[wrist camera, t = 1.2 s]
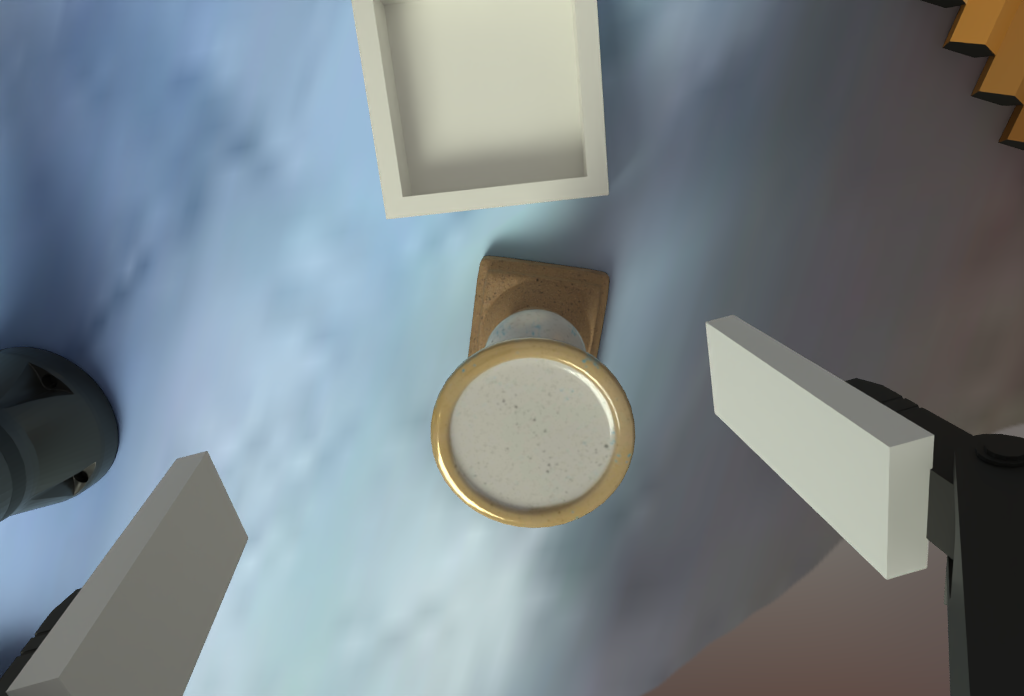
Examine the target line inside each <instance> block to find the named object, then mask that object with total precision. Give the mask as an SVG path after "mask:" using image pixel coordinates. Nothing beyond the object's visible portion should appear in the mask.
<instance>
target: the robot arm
mask: <svg viewBox="0 0 1024 696" xmlns="http://www.w3.org/2000/svg"><path fill="white" fill-rule="evenodd" d="M706 331H707V341H708V351H709V361H710V370H711V380H712V390H713V400H714V410H715V414H716V415H717V416H718V417H719V418H720V419H721V420H722V421H723V422H725V423H726V424H727V425H728V426H729V427H730V428H731V429H732V430H733V431H734V432H735V433H736V434H737V435H738V436H739V437H740V438H741V439H742V440H743V441H744V442H745V443H746V444H747V445H748V446H749V447H750V448H751V449H752V450H753V451H754V452H755V453H757V454H758V455H759V456H760V457H761V458H762V459H763V460H764V461H765V462H766V463H767V464H768V465H769V466H770V467H771V468H772V469H773V470H774V471H775V472H776V473H777V474H778V475H779V476H780V477H781V478H782V479H783V480H784V481H785V482H786V483H787V484H788V485H790V486H791V487H792V488H793V489H794V490H795V491H796V492H797V493H798V494H799V495H800V496H801V497H802V498H803V499H804V500H805V501H806V502H807V503H808V504H809V505H810V506H811V507H812V508H813V509H814V510H815V511H816V512H817V513H818V514H819V515H820V516H822V517H823V518H824V519H825V520H826V521H827V522H828V523H829V524H830V525H831V526H832V527H833V528H834V529H835V530H836V531H837V532H838V533H839V534H840V535H841V536H842V537H843V538H844V539H845V540H846V541H847V542H848V543H850V545H851V546H853V547H854V548H855V549H856V550H857V551H858V552H859V553H860V554H861V555H862V556H863V557H864V558H865V559H866V560H867V561H868V562H869V563H870V564H871V565H872V566H873V567H874V568H875V569H876V570H877V571H878V572H879V573H881V574H882V576H883V577H885V579H891V578H894V577H898V576H901V575H905V574H908V573H911V572H915V571H918V570H921V569H925V568H927V557H928V540H929V541H930V542H932V543H933V544H934V545H935V546H937V547H938V548H939V549H940V550H942V551H943V552H944V553H945V554H947V567H946V581H945V596H944V604H945V605H947V607H948V636H949V637H948V638H949V664H950V665H949V666H950V695H951V696H1024V438H1021V437H1015V436H1009V435H1003V434H981V435H975V436H973V435H971V434H969V433H967V432H965V431H964V430H962V429H960V428H958V427H956V426H955V425H953V424H951V423H949V422H948V421H946V420H944V419H942V418H940V417H939V416H937V415H935V414H933V413H931V412H930V411H928V410H926V409H924V408H919V407H918V405H917V404H915V403H913V402H912V401H910V400H908V399H906V398H905V399H903V398H902V396H901V395H899V394H897V393H896V392H894V391H892V390H890V389H888V388H887V387H885V386H883V385H880V384H876V383H873V382H869V381H865V380H862V379H858V378H855V379H851V380H848V381H843V380H841V379H840V378H838V377H836V376H835V375H833V374H831V373H830V372H828V371H826V370H825V369H823V368H821V367H820V366H818V365H816V364H815V363H813V362H811V361H810V360H808V359H806V358H805V357H803V356H801V355H800V354H798V353H796V352H795V351H793V350H791V349H789V348H788V347H786V346H784V345H783V344H781V343H779V342H778V341H776V340H774V339H773V338H771V337H769V336H768V335H766V334H764V333H763V332H761V331H759V330H758V329H756V328H754V327H753V326H751V325H749V324H748V323H746V322H744V321H743V320H741V319H739V318H738V317H736V316H734V315H731V316H727V317H723V318H719V319H715V320H711V321H708V322H706ZM117 446H118V430H117V424H116V420H115V416H114V413H113V410H112V408H111V406H110V404H109V402H108V400H107V398H106V396H105V395H104V393H103V392H102V390H101V389H100V388H99V386H98V385H97V384H96V383H95V382H94V381H93V379H92V378H91V377H90V376H89V375H87V374H86V373H85V372H84V371H83V370H82V369H80V368H79V367H78V366H76V365H75V364H73V363H72V362H70V361H69V360H67V359H65V358H63V357H61V356H59V355H57V354H54V353H52V352H49V351H45V350H42V349H37V348H31V347H12V348H6V349H2V350H0V522H1V521H2V520H4V519H6V518H7V517H9V516H12V515H15V514H19V513H23V512H27V511H30V510H34V509H38V508H41V507H45V506H49V505H53V504H56V503H60V502H63V501H66V500H68V499H71V498H73V497H75V496H77V495H79V494H80V493H82V492H83V491H85V490H86V489H88V488H89V487H90V486H92V485H93V484H95V483H96V482H98V481H99V480H100V479H101V478H102V477H103V476H104V475H105V474H106V473H107V471H108V470H109V468H110V467H111V465H112V463H113V461H114V458H115V455H116V451H117ZM247 540H248V536H247V534H246V532H245V530H244V528H243V526H242V524H241V522H240V519H239V517H238V515H237V513H236V511H235V509H234V507H233V505H232V502H231V500H230V498H229V496H228V494H227V492H226V490H225V488H224V485H223V483H222V481H221V479H220V477H219V475H218V473H217V471H216V468H215V466H214V464H213V462H212V460H211V458H210V456H209V454H208V451H205V452H202V453H198V454H194V455H190V456H186V457H182V458H178V459H176V461H175V462H174V463H173V465H172V466H171V467H170V469H169V470H168V471H167V473H166V474H165V476H164V477H163V478H162V480H161V481H160V482H159V484H158V485H157V486H156V488H155V489H154V491H153V492H152V493H151V495H150V496H149V497H148V499H147V500H146V501H145V503H144V504H143V506H142V507H141V508H140V510H139V511H138V512H137V514H136V515H135V516H134V518H133V519H132V521H131V522H130V523H129V525H128V526H127V527H126V529H125V530H124V531H123V533H122V534H121V536H120V537H119V538H118V540H117V541H116V542H115V544H114V545H113V546H112V548H111V549H110V551H109V552H108V553H107V555H106V556H105V557H104V559H103V560H102V561H101V563H100V564H99V566H98V567H97V568H96V570H95V571H94V572H93V574H92V575H91V576H90V578H89V579H88V581H87V582H86V583H85V585H84V586H83V587H82V588H80V589H77V590H75V591H74V592H73V593H72V594H71V595H70V596H69V597H68V598H66V599H65V600H64V601H63V602H62V603H61V604H60V605H58V606H57V607H56V608H55V609H54V610H53V611H52V612H51V613H50V614H49V616H48V617H47V618H46V620H45V621H44V622H43V624H42V625H41V626H40V627H39V629H38V630H37V631H36V633H35V637H34V638H31V639H30V641H29V642H28V643H27V645H26V646H25V647H24V648H23V650H22V651H21V656H19V657H17V658H16V659H15V660H14V662H13V663H12V664H11V666H10V667H9V668H8V670H7V671H6V672H5V673H4V675H3V676H2V677H1V679H0V696H183V693H184V691H185V689H186V686H187V684H188V682H189V679H190V677H191V674H192V672H193V670H194V667H195V665H196V662H197V660H198V658H199V655H200V653H201V650H202V648H203V646H204V643H205V641H206V638H207V636H208V634H209V631H210V629H211V626H212V624H213V622H214V619H215V617H216V614H217V612H218V610H219V607H220V605H221V603H222V600H223V598H224V595H225V593H226V591H227V588H228V586H229V583H230V581H231V579H232V576H233V574H234V571H235V569H236V567H237V564H238V562H239V559H240V557H241V555H242V552H243V550H244V547H245V545H246V543H247Z"/></svg>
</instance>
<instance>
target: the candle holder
mask: <svg viewBox="0 0 1024 696" xmlns="http://www.w3.org/2000/svg"><path fill="white" fill-rule="evenodd" d="M608 289H609V276H608V274H607V273H605V272H602V271H597V270H592V269H586V268H579V267H572V266H564V265H557V264H550V263H543V262H536V261H529V260H521V259H514V258H507V257H497V256H484V257H483V258H482V260H481V262H480V267H479V273H478V278H477V286H476V295H475V303H474V312H473V320H472V329H471V337H470V346H469V354H468V358H467V359H466V360H465V361H464V362H463V363H462V364H460V365H459V366H458V367H457V368H456V369H455V371H454V372H453V373H452V374H451V375H450V377H449V378H448V379H447V381H446V382H445V384H444V386H443V388H442V389H441V391H440V393H439V395H438V398H437V401H436V403H435V406H434V410H433V415H432V420H431V444H432V450H433V455H434V458H435V461H436V464H437V467H438V469H439V471H440V473H441V475H442V476H443V478H444V480H445V482H446V483H447V484H448V486H449V487H450V488H451V490H452V491H453V492H454V493H455V494H456V495H457V496H458V497H459V498H460V499H461V500H462V501H463V502H464V503H465V504H467V505H468V506H469V507H471V508H472V509H473V510H475V511H476V512H478V513H480V514H482V515H484V516H486V517H487V518H489V519H492V520H495V521H498V522H500V523H503V524H507V525H512V526H517V527H527V528H541V527H551V526H556V525H561V524H565V523H568V522H570V521H573V520H576V519H579V518H580V517H582V516H584V515H586V514H588V513H590V512H592V511H593V510H594V509H596V508H597V507H598V506H600V505H601V504H602V503H604V502H605V501H606V500H607V499H608V498H609V497H610V496H611V495H612V494H613V493H614V491H615V490H616V489H617V487H618V486H619V484H620V483H621V482H622V480H623V478H624V476H625V474H626V472H627V470H628V468H629V465H630V462H631V459H632V455H633V451H634V443H635V426H634V418H633V413H632V409H631V405H630V403H629V401H628V398H627V396H626V393H625V391H624V390H623V388H622V386H621V385H620V383H619V382H618V380H617V378H616V377H615V376H614V375H613V374H612V373H611V371H610V370H609V369H608V368H607V367H606V366H605V365H604V364H603V363H602V362H600V361H599V360H598V359H597V354H598V348H599V343H600V337H601V332H602V326H603V321H604V315H605V310H606V304H607V298H608Z"/></svg>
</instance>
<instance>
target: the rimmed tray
mask: <svg viewBox="0 0 1024 696" xmlns="http://www.w3.org/2000/svg"><path fill="white" fill-rule="evenodd" d="M351 1H352V7H353V13H354V20H355V26H356V32H357V38H358V45H359V51H360V57H361V63H362V70H363V76H364V82H365V88H366V94H367V101H368V107H369V113H370V119H371V126H372V132H373V138H374V144H375V150H376V157H377V163H378V169H379V175H380V182H381V188H382V194H383V200H384V206H385V213H386V219H393V218H403V217H412V216H421V215H430V214H439V213H449V212H458V211H467V210H476V209H485V208H494V207H504V206H513V205H522V204H531V203H540V202H550V201H559V200H568V199H577V198H586V197H595V196H605V195H609V187H608V171H607V155H606V139H605V123H604V107H603V91H602V75H601V59H600V43H599V27H598V11H597V0H351Z"/></svg>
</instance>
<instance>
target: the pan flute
mask: <svg viewBox="0 0 1024 696" xmlns="http://www.w3.org/2000/svg"><path fill="white" fill-rule="evenodd" d="M922 1H925V2H928V3H931V4H935V5H938V6H941V7H944V8H948V7H953V6H959V5H961V7H960V10H959V12H958V14H957V16H956V19H955V21H954V23H953V25H952V28H951V30H950V32H949V34H948V37H947V39H946V41H945V43H944V46H943V48H945V49H948V50H951V51H955V52H958V53H961V54H964V55H968V56H971V57H974V58H975V57H985V56H989V58H988V60H987V62H986V65H985V67H984V69H983V71H982V73H981V75H980V77H979V80H978V82H977V84H976V86H975V88H974V90H973V92H972V95H971V96H973V97H976V98H979V99H982V100H986V101H989V102H992V103H995V104H999V105H1002V106H1003V105H1016V107H1015V109H1014V111H1013V113H1012V115H1011V117H1010V119H1009V122H1008V124H1007V126H1006V128H1005V130H1004V132H1003V134H1002V136H1001V138H1000V140H999V142H998V143H1002V144H1005V145H1008V146H1011V147H1015V148H1018V149H1021V150H1024V0H922Z"/></svg>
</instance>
